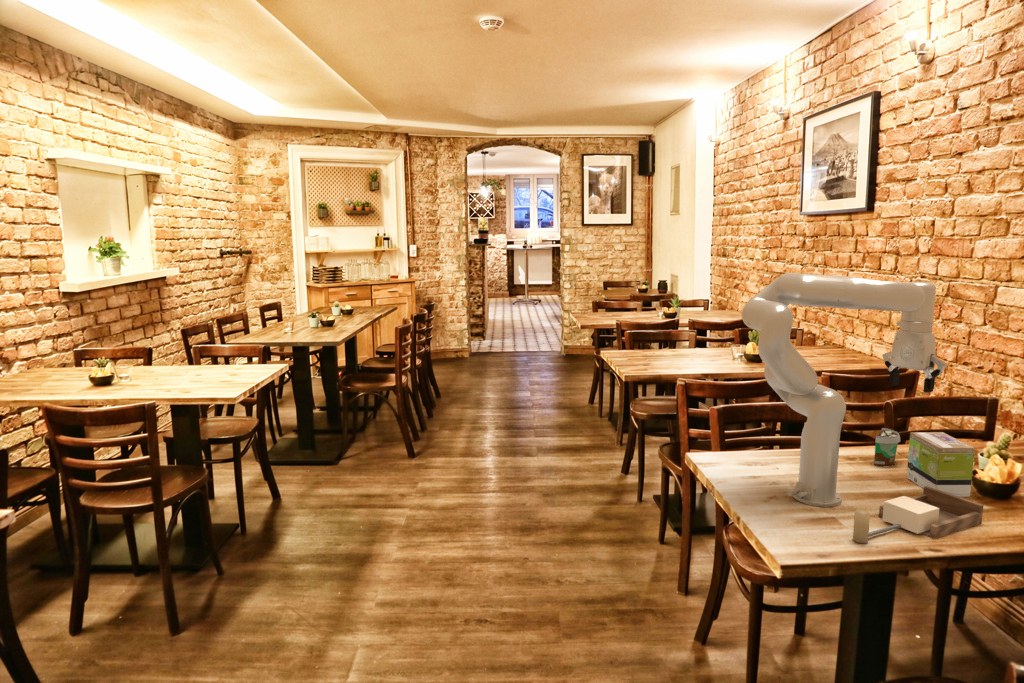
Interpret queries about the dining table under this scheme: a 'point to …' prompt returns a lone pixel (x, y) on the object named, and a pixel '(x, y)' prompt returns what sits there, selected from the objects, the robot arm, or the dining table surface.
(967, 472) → the tea box
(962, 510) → the wooden frame
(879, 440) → the food container
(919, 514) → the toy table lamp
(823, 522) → the dining table surface
